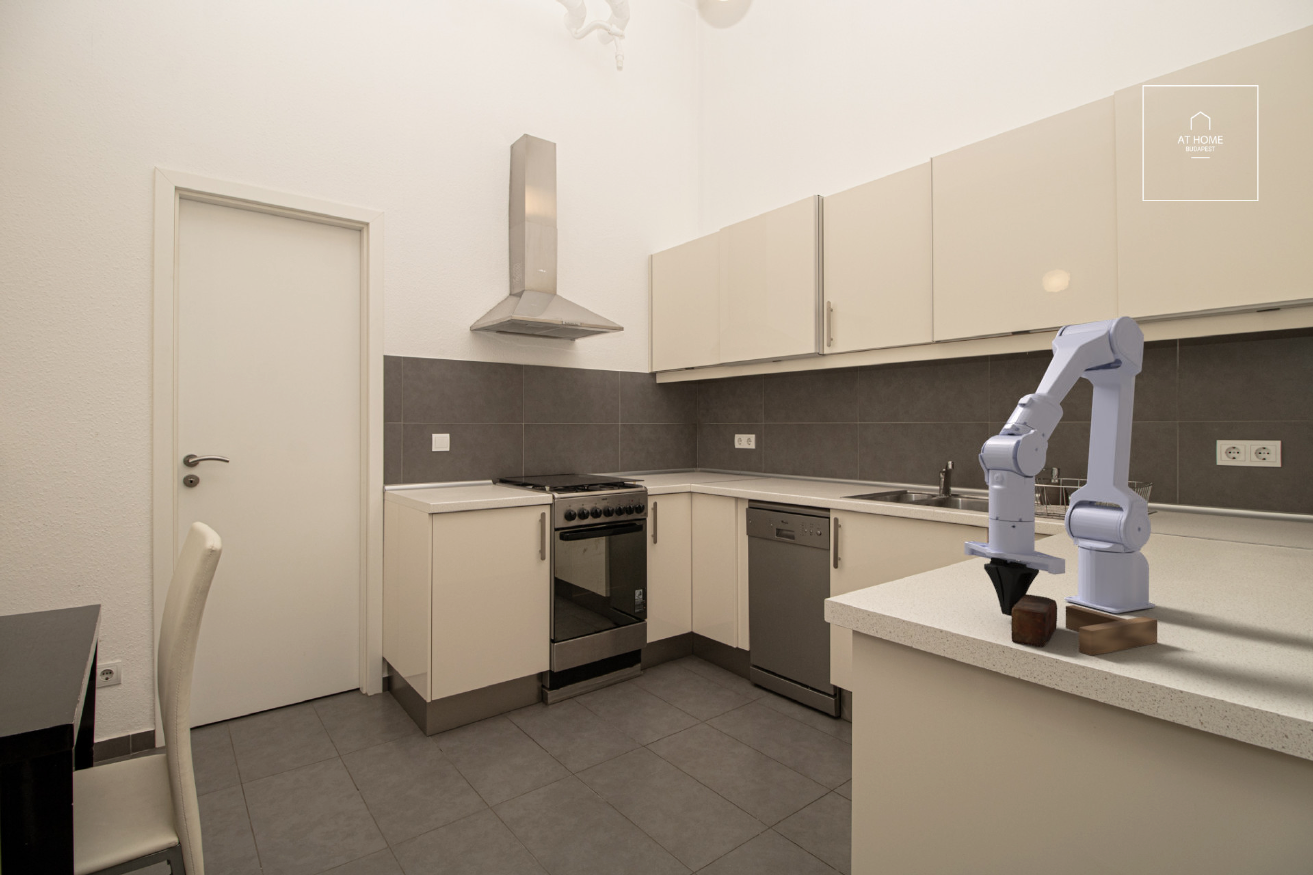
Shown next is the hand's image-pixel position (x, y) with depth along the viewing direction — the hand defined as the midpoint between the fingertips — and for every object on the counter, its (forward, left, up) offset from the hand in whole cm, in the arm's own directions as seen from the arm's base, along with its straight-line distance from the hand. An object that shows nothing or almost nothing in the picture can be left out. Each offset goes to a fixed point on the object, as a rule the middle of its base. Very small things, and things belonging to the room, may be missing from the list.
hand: (1010, 614), depth 89 cm
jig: (-3, +9, -1) cm, 10 cm away
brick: (+2, +5, -1) cm, 6 cm away
